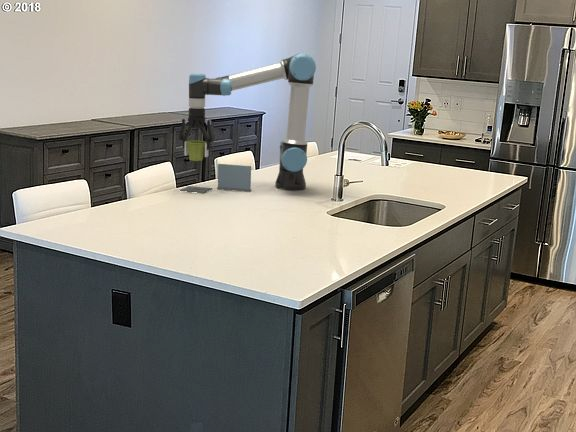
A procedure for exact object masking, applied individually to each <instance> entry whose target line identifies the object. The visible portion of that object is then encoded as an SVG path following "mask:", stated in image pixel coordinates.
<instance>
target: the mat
mask: <svg viewBox="0 0 576 432" xmlns="http://www.w3.org/2000/svg"><path fill="white" fill-rule="evenodd" d="M211 189H212V190H213V187H204V186H193V185H187V186H186V187H183V188H180V189H179V190H180V191H187V192H186V193H192V192H197V193H196V194H206V193H207V191H208V192H209V190H210V191H212V190H211ZM180 191H179V192H180Z"/></svg>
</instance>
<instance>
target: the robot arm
mask: <svg viewBox="0 0 576 432" xmlns="http://www.w3.org/2000/svg"><path fill="white" fill-rule="evenodd" d="M316 69H317V65H316V62H315V59H314V58H313V57H312V56H310V54H307V53H296V54H294V55H292V56H290V57H287V58H283V59H281V60H280V61H279V62H277V63H274V64H273V63H272V64H269V65H265V66H264V65H263V66H260V67H257V68H253V69H252V68H251V69H249V70H245V71H240V72H237V73H232V74H227V75H224V76H218V77H215V78H209V77H206V74H205V73H190V74H189V75H188V76H189V77H188V107H189V108H188V117H187V118H182V119H181V123H182V124H181V126H180V128H181V129H180V131H179V136H178V139H179V140H180V141H181V142H182V149H184V156H189V150H188V145H187V143H186V142H187V141H188V139H189V137H190V135H191V133H192V131H193V129H195V128H196V129H200V132H201V133H202V135H203V137H204V139H205V142H206V143H205V149H204V158H208V157H209V151H210V150H211V143H212V142H215V137H214V131H213V128H212V120H210V119H206V108H205V107H206V96H209V95H210V96H223V97H225V96H231V95H232V92H233V91H237V90H241V89H245V88H248V87H254V86H259V85H262V84H266V83H269V82H274V81H278V80H281V79H284V80H287V82H288V85H289V86H290V94H289V104H288V105H289V107H288V113H287V114H288V116H287V126H286V138H285V139H284V140H282V141H280V143H279V165H278V167H279V168H278V169H279V170H278V174H277V177H276V180H275V184H274V188H276V189H278V190H285V191H300V190H306V188H307V182H306V179H305V178H306V177H305V176H304V168H305V167H306V165H307V163H308V156H307V151H308V142H307V141H306V128H307V118H308V106H309V96H310V95H309V94H310V88H311V87H312V86H313V85H314V79H315V77H314V76H315V73H316ZM188 124H189V126H188V127H187V125H188ZM205 124H206V127H205ZM186 128H187V130H186ZM206 128H207V130H206Z"/></svg>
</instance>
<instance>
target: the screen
mask: <svg viewBox="0 0 576 432" xmlns="http://www.w3.org/2000/svg"><path fill="white" fill-rule="evenodd" d="M251 179H252V165H242V164H227V163H217V187H216V189H217V190H220V189H224V190H223V191H232V190H234V191H236V192H246V193H250V192H252V189H251V188H252V187H251V186H252V185H251V184H252V180H251Z"/></svg>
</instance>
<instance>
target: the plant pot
mask: <svg viewBox="0 0 576 432" xmlns="http://www.w3.org/2000/svg"><path fill="white" fill-rule="evenodd" d="M186 143H187V145H188V158H189V161H192V162H202V161H203V160H204V156H205V143H206V141H204V140H187V142H186Z"/></svg>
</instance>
